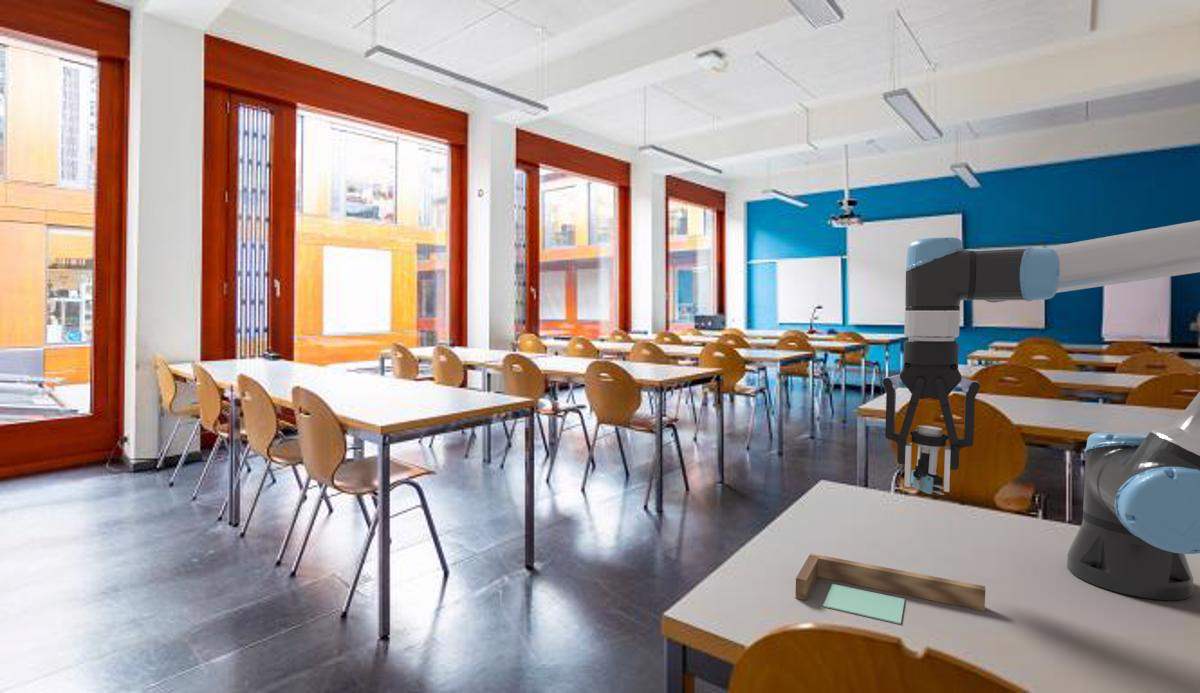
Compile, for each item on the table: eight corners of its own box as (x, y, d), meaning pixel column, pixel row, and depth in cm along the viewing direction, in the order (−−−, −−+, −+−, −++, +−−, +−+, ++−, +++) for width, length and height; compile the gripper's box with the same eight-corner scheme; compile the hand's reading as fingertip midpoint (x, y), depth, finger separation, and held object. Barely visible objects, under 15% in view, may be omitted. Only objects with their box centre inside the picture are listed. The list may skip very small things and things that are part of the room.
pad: (904, 600, 91) (904, 598, 91) (900, 624, 84) (900, 622, 84) (832, 585, 96) (832, 583, 96) (823, 606, 89) (823, 605, 89)
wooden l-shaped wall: (984, 606, 89) (984, 586, 89) (987, 641, 79) (988, 618, 79) (809, 571, 101) (810, 553, 100) (795, 598, 91) (795, 578, 91)
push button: (957, 498, 95) (963, 433, 94) (925, 497, 94) (930, 432, 94) (928, 485, 102) (934, 424, 101) (898, 485, 101) (903, 424, 100)
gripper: (997, 339, 95) (992, 489, 97) (871, 337, 104) (868, 474, 106) (1000, 341, 89) (995, 501, 90) (866, 338, 98) (863, 485, 99)
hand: (926, 486), depth 98 cm, fingers closed on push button, 5 cm apart
